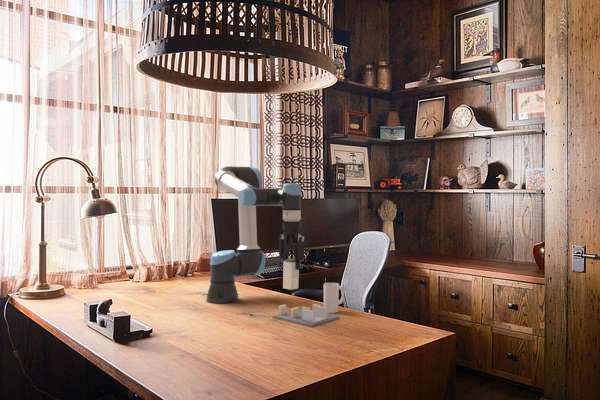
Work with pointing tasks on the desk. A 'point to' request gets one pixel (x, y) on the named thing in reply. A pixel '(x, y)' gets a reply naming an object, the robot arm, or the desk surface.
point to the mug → (332, 297)
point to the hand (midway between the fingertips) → (291, 276)
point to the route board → (305, 315)
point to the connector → (289, 275)
